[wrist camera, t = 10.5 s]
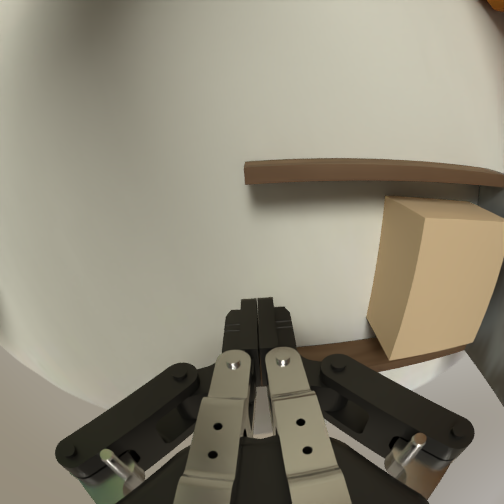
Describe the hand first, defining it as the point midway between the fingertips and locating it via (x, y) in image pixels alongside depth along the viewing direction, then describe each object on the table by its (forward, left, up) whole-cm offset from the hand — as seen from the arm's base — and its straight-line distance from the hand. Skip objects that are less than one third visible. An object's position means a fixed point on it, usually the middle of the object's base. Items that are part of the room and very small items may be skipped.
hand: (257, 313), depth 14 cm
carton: (0, +12, -5) cm, 13 cm away
